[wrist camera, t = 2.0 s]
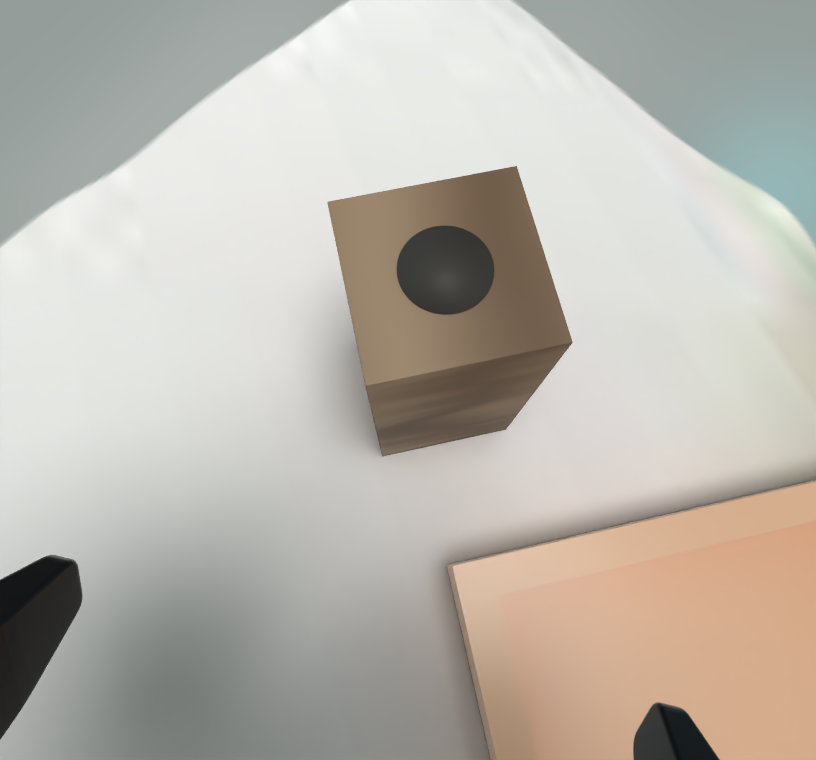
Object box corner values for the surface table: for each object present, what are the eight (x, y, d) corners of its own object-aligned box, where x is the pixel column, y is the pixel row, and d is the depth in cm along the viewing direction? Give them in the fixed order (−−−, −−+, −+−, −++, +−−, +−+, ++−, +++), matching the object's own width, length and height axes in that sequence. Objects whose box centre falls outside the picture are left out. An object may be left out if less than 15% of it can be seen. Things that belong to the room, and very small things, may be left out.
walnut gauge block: (382, 456, 23) (365, 385, 14) (358, 339, 25) (327, 200, 15) (505, 429, 24) (573, 341, 14) (474, 315, 25) (516, 165, 15)
